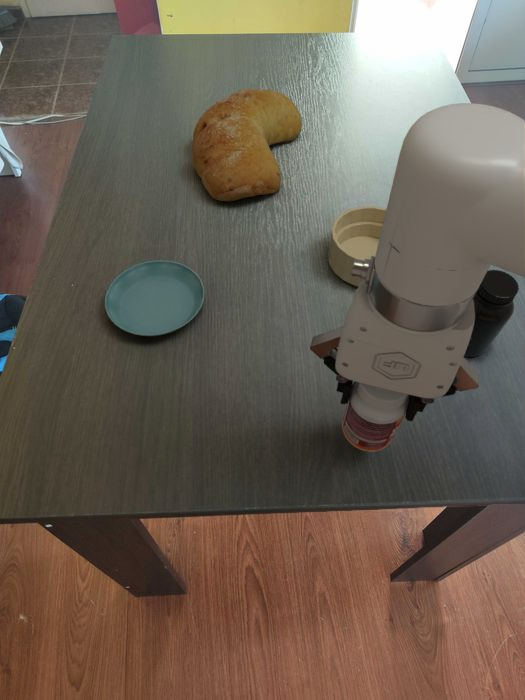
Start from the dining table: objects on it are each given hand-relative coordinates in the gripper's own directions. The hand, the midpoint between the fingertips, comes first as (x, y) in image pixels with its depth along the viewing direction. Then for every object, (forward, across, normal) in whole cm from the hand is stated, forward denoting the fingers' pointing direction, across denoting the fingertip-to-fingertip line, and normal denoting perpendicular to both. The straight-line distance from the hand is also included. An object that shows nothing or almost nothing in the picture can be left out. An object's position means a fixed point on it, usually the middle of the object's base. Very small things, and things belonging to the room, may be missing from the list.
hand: (377, 400), depth 49 cm
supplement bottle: (+11, +11, +20) cm, 26 cm away
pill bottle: (+7, 0, 0) cm, 7 cm away
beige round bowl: (+11, -5, +32) cm, 34 cm away
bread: (+10, -34, +54) cm, 65 cm away
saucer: (+10, -34, +13) cm, 38 cm away
